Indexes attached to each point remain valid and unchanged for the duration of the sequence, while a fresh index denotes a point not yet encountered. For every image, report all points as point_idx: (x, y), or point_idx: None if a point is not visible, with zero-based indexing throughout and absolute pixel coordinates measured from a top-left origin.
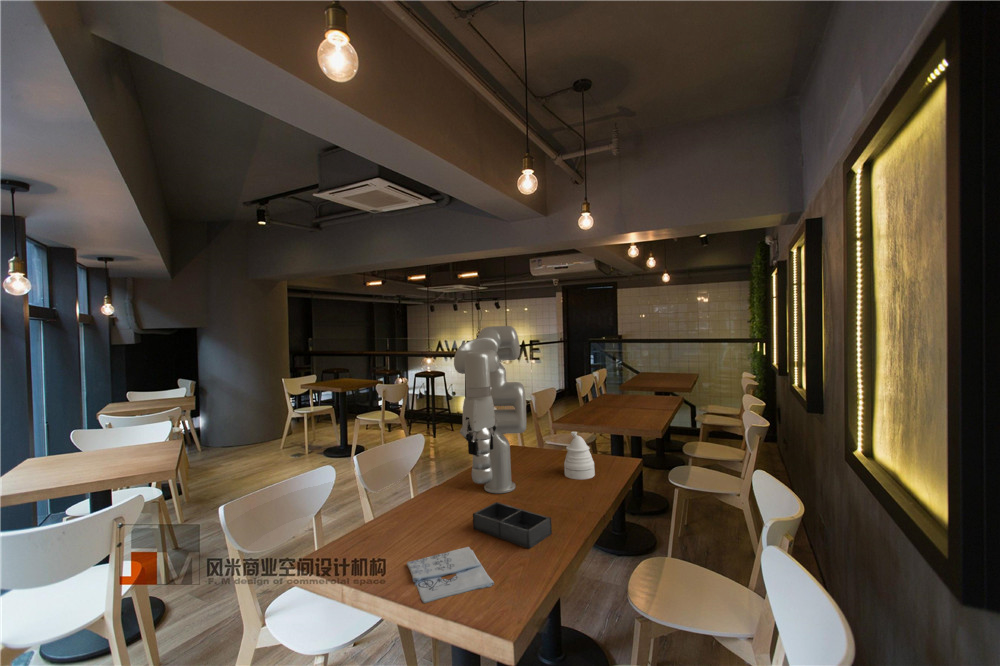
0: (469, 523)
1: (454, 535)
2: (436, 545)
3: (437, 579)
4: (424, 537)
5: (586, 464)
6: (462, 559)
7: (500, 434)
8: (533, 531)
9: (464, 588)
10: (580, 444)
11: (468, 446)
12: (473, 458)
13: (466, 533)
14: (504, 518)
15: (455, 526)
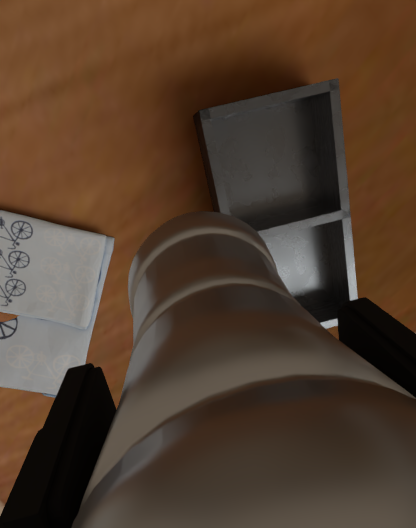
0: (207, 62)
1: (116, 110)
2: (32, 133)
3: None
4: (15, 40)
5: None
6: (57, 281)
7: None
8: None
9: (6, 386)
10: None
11: (16, 485)
12: (134, 339)
13: (157, 127)
14: (258, 231)
15: (154, 44)
